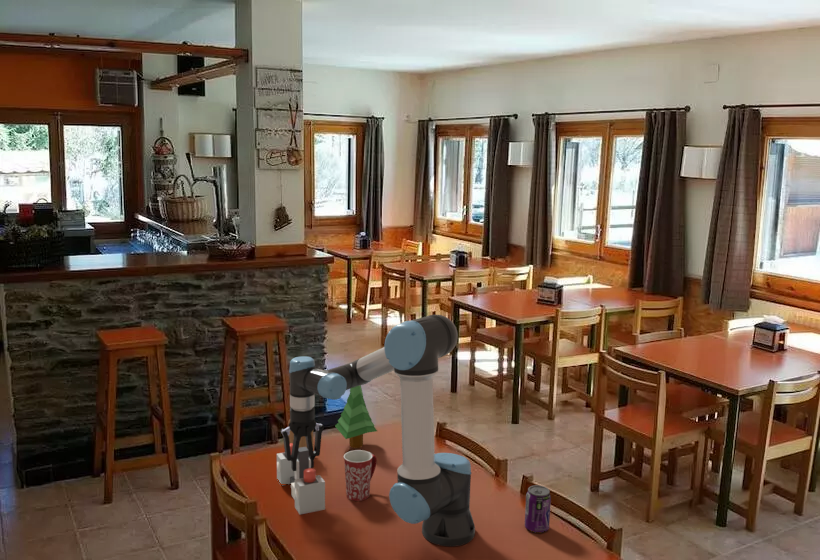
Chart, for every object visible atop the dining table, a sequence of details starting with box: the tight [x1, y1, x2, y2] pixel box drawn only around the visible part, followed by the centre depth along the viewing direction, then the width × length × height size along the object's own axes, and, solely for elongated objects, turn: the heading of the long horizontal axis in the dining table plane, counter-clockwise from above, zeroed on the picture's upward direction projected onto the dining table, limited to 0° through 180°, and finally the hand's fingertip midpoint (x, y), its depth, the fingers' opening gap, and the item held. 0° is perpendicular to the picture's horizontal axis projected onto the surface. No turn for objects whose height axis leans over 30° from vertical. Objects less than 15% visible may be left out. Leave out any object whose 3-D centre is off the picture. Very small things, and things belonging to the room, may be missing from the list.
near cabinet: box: [294, 474, 326, 515], centre depth 222 cm, size 5×8×9 cm, turn 115°
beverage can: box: [524, 485, 552, 533], centre depth 213 cm, size 7×7×12 cm
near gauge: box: [304, 467, 317, 483], centre depth 221 cm, size 4×4×3 cm
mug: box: [343, 449, 378, 502], centre depth 232 cm, size 13×9×14 cm
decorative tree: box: [334, 385, 378, 449], centre depth 267 cm, size 14×16×30 cm
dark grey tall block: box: [290, 447, 309, 501], centre depth 228 cm, size 6×6×16 cm
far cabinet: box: [276, 451, 295, 485], centre depth 241 cm, size 5×8×9 cm, turn 115°
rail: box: [289, 476, 295, 485], centre depth 232 cm, size 16×2×2 cm, turn 25°
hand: (302, 478), depth 228 cm, fingers closed on dark grey tall block, 3 cm apart
